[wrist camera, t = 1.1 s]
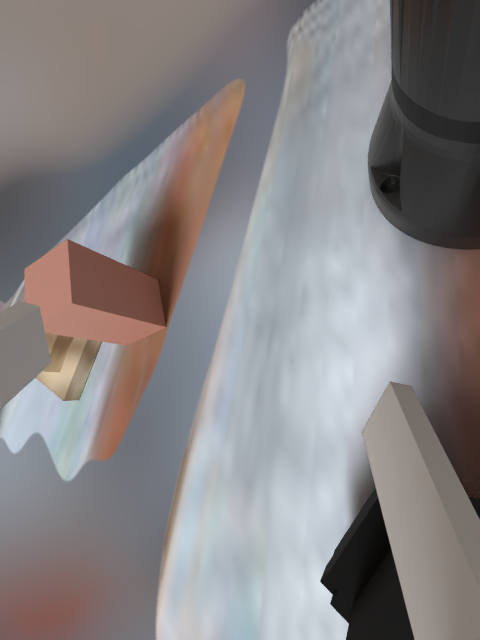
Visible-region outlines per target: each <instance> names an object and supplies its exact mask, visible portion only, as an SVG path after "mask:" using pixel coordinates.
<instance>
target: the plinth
mask: <svg viewBox="0 0 480 640" xmlns="http://www.w3.org/2000/svg"><path fill="white" fill-rule="evenodd" d="M45 335H46V339H47V344H48V349H49V354H50V358H51V364H50V365H48V366H47V367H46V368H45V369H44V370H43V371H42V372H41V373H40V374H39V375H37V376H36V377H35V378H36V379H37V380H39V381H40V382H41V383H42V384H43V385H45V386H46V387H47V388H48V389H50V390H51V391H52V392H53V393H54V394H56V395H57V396H58V397H59V398H60V399H62V400H63V401H70V400H79V399H80V396H81V393H82V391H83V388H84V386H85V383H86V381H87V378H88V376H89V373H90V371H91V368H92V366H93V363H94V361H95V358H96V355H97V353H98V350H99V348H100V345H101V343H102V341H95V340H88V339H82V338H75V337H68V336H62V335H55V334H48V333H45Z"/></svg>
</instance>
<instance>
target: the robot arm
mask: <svg viewBox="0 0 480 640" xmlns="http://www.w3.org/2000/svg"><path fill="white" fill-rule="evenodd" d="M390 19H391V60H392V81H391V84H390V87H389V89H388V92H387V95H386V98H385V101H384V103H383V106H382V109H381V112H380V114H379V117H378V120H377V123H376V125H375V128H374V131H373V134H372V137H371V141H370V146H369V152H368V172H369V180H370V187H371V192H372V195H373V198H374V200H375V203H376V205H377V207H378V208H379V210H380V211H381V213H382V214H383V215H384V216H385V218H386V219H387V220H388V221H389V222H390V223H391V224H393V225H394V226H395V227H396V228H398V229H399V230H400V231H402V232H404V233H405V234H407V235H409V236H411V237H413V238H415V239H417V240H420V241H423V242H425V243H429V244H432V245H436V246H441V247H447V248H455V249H480V0H390ZM50 364H51V358H50V354H49V349H48V344H47V339H46V335H45V330H44V325H43V320H42V316H41V311H40V306H38V305H33V304H29V303H24V302H18V303H17V304H15V305H13V306H12V307H10V308H8V309H6V310H5V311H3V312H1V313H0V409H1V408H2V407H3V406H5V405H6V404H7V403H8V402H9V401H10V400H11V399H12V398H13V397H14V396H16V395H17V394H18V393H19V392H20V391H21V390H22V389H23V388H24V387H25V386H27V385H28V384H29V383H30V382H31V381H32V380H33V379H34V378H35V377H36V376H37V375H39V374H40V373H41V372H42V371H43V370H44V369H45V368H46V367H47V366H48V365H50ZM362 436H363V440H364V444H365V447H366V451H367V455H368V459H369V463H370V467H371V471H372V475H373V479H374V483H375V487H376V490H377V494H378V498H379V502H380V506H381V510H382V514H383V518H384V522H385V526H386V530H387V534H388V537H389V541H390V545H391V549H392V553H393V557H394V561H395V565H396V569H397V573H398V577H399V581H400V584H401V588H402V592H403V596H404V600H405V604H406V608H407V612H408V616H409V620H410V624H411V628H412V631H413V635H414V639H415V640H480V499H475V498H471V497H468V496H467V494H466V492H465V490H464V488H463V486H462V484H461V482H460V480H459V478H458V476H457V474H456V472H455V470H454V468H453V467H452V465H451V463H450V461H449V459H448V457H447V455H446V453H445V451H444V449H443V447H442V445H441V443H440V441H439V439H438V437H437V435H436V433H435V431H434V429H433V427H432V426H431V424H430V422H429V420H428V418H427V416H426V414H425V412H424V410H423V408H422V406H421V404H420V402H419V400H418V398H417V396H416V394H415V392H414V390H413V388H412V386H408V385H403V384H399V383H394V382H389V384H388V386H387V388H386V390H385V391H384V393H383V395H382V397H381V398H380V400H379V402H378V404H377V406H376V407H375V409H374V411H373V413H372V414H371V416H370V418H369V420H368V422H367V423H366V425H365V427H364V429H363V431H362Z"/></svg>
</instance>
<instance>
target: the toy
mask: <svg viewBox="0 0 480 640" xmlns="http://www.w3.org/2000/svg"><path fill="white" fill-rule="evenodd" d="M320 582H321V583H322V584H323V585H324V586H325V587H326V588H327V589H328V590H329V591H330V592H331V593H332V594H333V596H332V600H331V603H330V604H331V605H332V606H333V607H334V608H335V609H336V611H337V612H338V613H339V614H340V615H341V616H342V617H343V618H344V619H345V620H346V621H347V622H348V623H349V627H348V632H347V637H346V640H415V639H414V635H413V631H412V628H411V624H410V620H409V616H408V612H407V608H406V604H405V600H404V596H403V592H402V588H401V584H400V581H399V577H398V573H397V569H396V565H395V561H394V557H393V553H392V549H391V545H390V541H389V537H388V534H387V530H386V526H385V522H384V518H383V514H382V510H381V506H380V502H379V498H378V494H377V490H376V488H375V489H374V491H373V492H372V494H371V495H370V497H369V499H368V500H367V502H366V503H365V505H364V506H363V508H362V509H361V511H360V512H359V514H358V515H357V517H356V518H355V520H354V522H353V523H352V525H351V526H350V528H349V529H348V531H347V532H346V534H345V535H344V537H343V538H342V540H341V541H340V543H339V544H338V546H337V548H336V549H335V551H334V554H333V557H332V558H331V560H330V561H329V563H328V564H327V566H326V568H325V570H324V573H323V576H322V578H321V581H320Z"/></svg>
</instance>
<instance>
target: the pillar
mask: <svg viewBox="0 0 480 640" xmlns="http://www.w3.org/2000/svg"><path fill="white" fill-rule="evenodd" d="M25 303H29V304H33V305H38V306H40V311H41V316H42V320H43V325H44V330H45V333H48V334H55V335H62V336H68V337H75V338H82V339H88V340H95V341H102V342H108V343H115V344H122V345H128V344H130V343H133V342H135V341H137V340H139V339H141V338H144V337H146V336H148V335H150V334H152V333H155V332H157V331H159V330H161V329H163V328H166V323H165V318H164V312H163V306H162V301H161V295H160V290H159V284H158V279H156V278H153V277H151V276H149V275H147V274H144V273H142V272H140V271H138V270H135V269H133V268H131V267H129V266H126V265H124V264H122V263H120V262H117V261H115V260H113V259H111V258H108V257H106V256H104V255H102V254H99V253H97V252H95V251H93V250H90V249H88V248H86V247H84V246H82V245H79V244H77V243H75V242H73V241H70V240H68V239H67V240H66V241H64V242H63V243H61V244H60V245H59V246H57V247H56V248H54V249H53V250H51V251H50V252H49V253H47V254H46V255H44V256H43V257H41V258H40V259H39V260H37V261H36V262H34V263H33V264H31V265H30V266H29V267H27V268H26V269H25Z"/></svg>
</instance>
